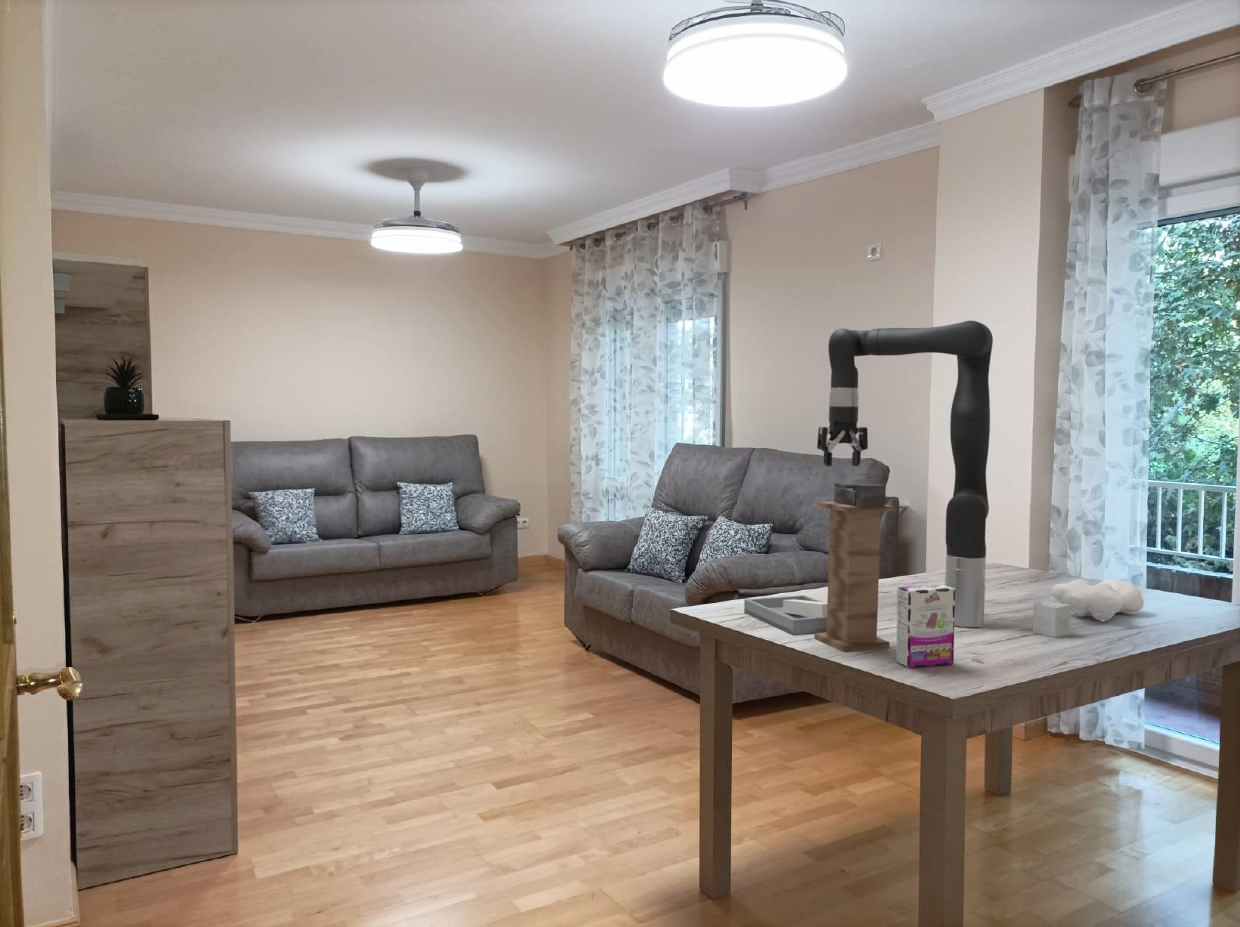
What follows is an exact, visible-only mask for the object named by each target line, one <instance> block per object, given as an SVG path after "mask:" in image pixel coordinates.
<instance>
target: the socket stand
mask: <svg viewBox="0 0 1240 927" xmlns="http://www.w3.org/2000/svg"><path fill="white" fill-rule="evenodd" d="M886 486H887V485H886V484H880V483H878V484H866V483H859V482H858V483H857V482H846V483H845V482H843V483H842V482H841V483H834V492H833V494H834V496H833V499H834V500H833V501H830V500H829V501H817V507H820V508H825V509H829V534H828V536H829V537H828V565H827V566H828V570H827V572H828V573H827V574H828V575H827V602H826V603H827V632H819V633H813V637H814V640H817V641H819V642H821V643H824V644H826V645H828V646H831V647H833V648H834V649H836V650H839V651H840V652H841V651H842V652H846V653H847V652H854V651H855V652H856V651H865V650H866V651H867V650H875V649H877V650H878V649H886V648H890V644H891V643H890V641H888V640H886V639H883V638H880V637H878V613H879V612H878V610H879V609H878V608H879V607H878V606H879V605H878V604H879V603H878V602H879V581H880V580H879V579H880V578H879V576H880V545H881V519H882V518H881V517H882V516H881V514H882V512H888V511H890V512H892V511H893V512H894V511H895V506H894V505H890V504H886V493H887V489H886V488H887V487H886Z"/></svg>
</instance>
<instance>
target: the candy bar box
mask: <svg viewBox="0 0 1240 927" xmlns="http://www.w3.org/2000/svg"><path fill="white" fill-rule="evenodd" d="M896 596H897V598H896V599H897V601H896V602H897V606H896V617H897V618H896V657H895V658H896V663H897V664H899V665H900V666H904V667H906V668H908V669H912V668H913V669H915V668H927V667H939V666H949V665H950V666H952V665H954V659H955V657H954V656H955V654H954V652H955V651H954V649H955V626H954V615H955V588H952V587H949V586H946V585H945V584H929V585H928V584H925V585H911V586H898V587H897V595H896Z"/></svg>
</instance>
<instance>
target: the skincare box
mask: <svg viewBox="0 0 1240 927" xmlns="http://www.w3.org/2000/svg"><path fill="white" fill-rule="evenodd" d="M1071 621H1072V610H1071V605H1067V604H1063V603H1062V602H1056V601H1053V600H1044V601H1039V602H1034V603H1033V624H1032V625H1033V630H1032V631H1033V633H1035V634H1038V635H1044V636H1048V637H1051V638H1061V637H1066V636H1070V635H1071V626H1072V625H1071V623H1072V622H1071Z"/></svg>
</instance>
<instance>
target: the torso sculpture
mask: <svg viewBox="0 0 1240 927" xmlns="http://www.w3.org/2000/svg"><path fill="white" fill-rule="evenodd" d="M1051 592H1052V597H1054V599H1056V600H1057V601H1059V602H1060V603H1062V604H1067V605H1071V613H1073V614H1074V615H1075V616H1076V617H1078V618H1084V617H1085V616H1087V615H1089V614H1090V615H1091V616H1092V617H1093V619H1095V620H1097V621H1098V620H1107V621H1109V620H1110V619H1111V618H1113V617H1114V616H1115V614H1118V613H1123V612H1124V613H1134V612H1137V611H1138V612H1139V611H1141V610H1142V609H1143V607H1144V605H1145V604H1144V599H1143V594H1142V593H1141V591H1140V589H1139V588H1138V587H1137V586H1136V585H1135V584H1134V583H1131V582H1130V581H1124V580H1119V579H1112V578H1111V579H1110V578H1108V579H1105V580H1103V581H1101V582H1098V583H1096V584H1095V585H1093V584H1091V583H1089V582H1087V581H1085V579H1084V580H1083V579H1080V578H1079V579H1075V580H1071V581H1069V582H1060V583H1057V584H1054V585H1053V587H1052V589H1051Z"/></svg>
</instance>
